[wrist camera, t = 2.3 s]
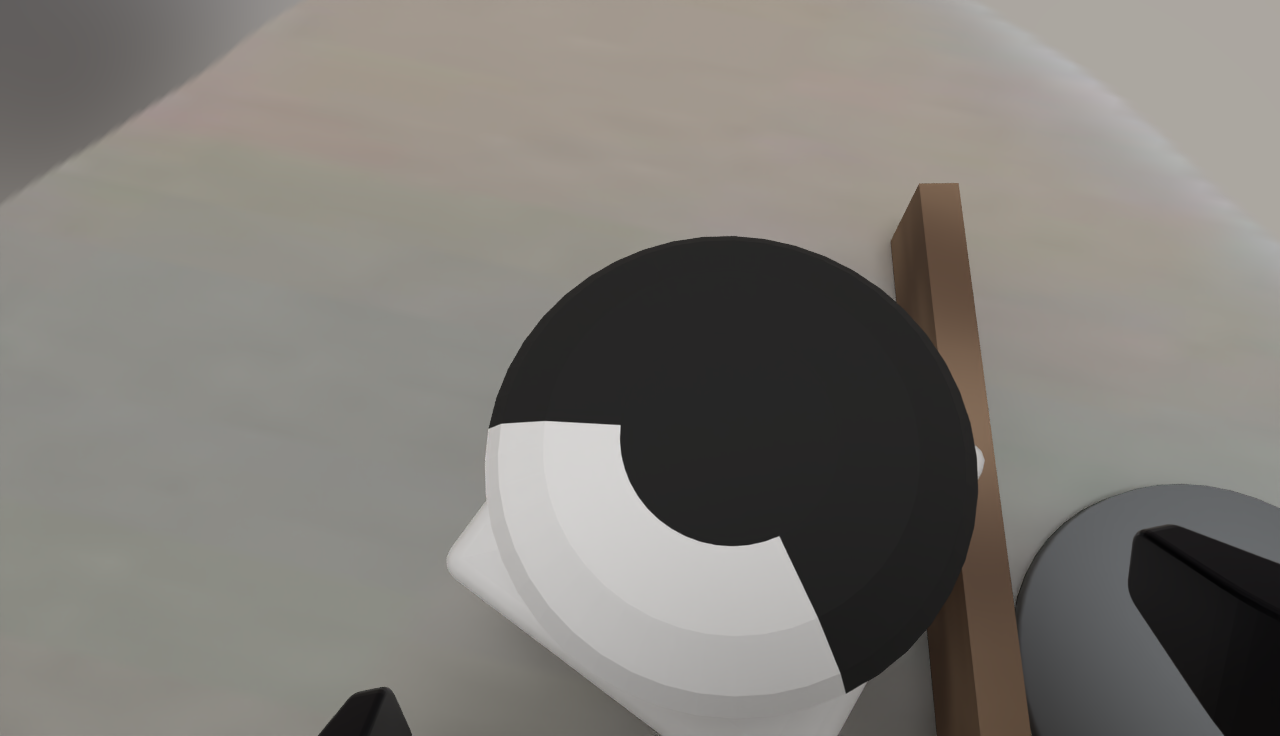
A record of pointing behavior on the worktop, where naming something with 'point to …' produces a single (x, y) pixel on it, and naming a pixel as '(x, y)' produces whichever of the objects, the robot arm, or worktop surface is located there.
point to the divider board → (982, 596)
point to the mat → (1119, 615)
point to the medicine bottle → (725, 487)
